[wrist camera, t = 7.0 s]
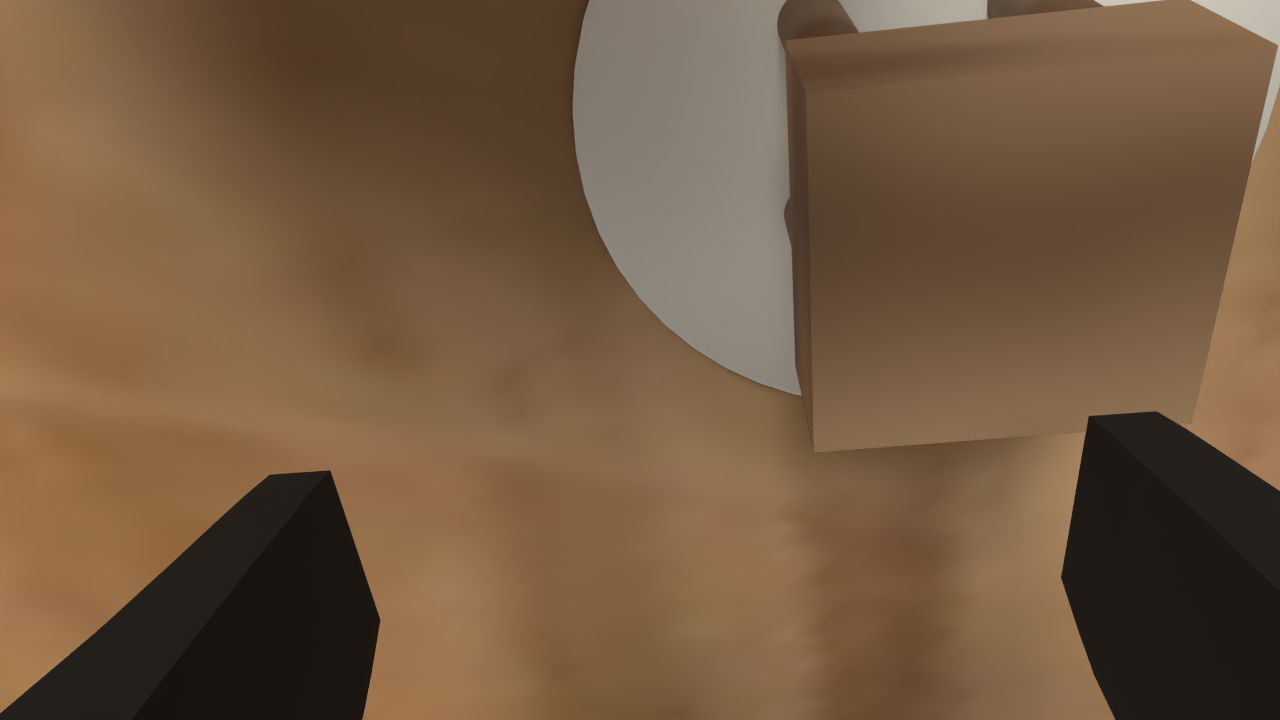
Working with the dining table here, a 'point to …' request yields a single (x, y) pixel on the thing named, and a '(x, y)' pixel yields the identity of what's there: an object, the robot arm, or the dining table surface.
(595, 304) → the dining table surface
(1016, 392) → the stool
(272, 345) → the dining table surface
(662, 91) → the mat
